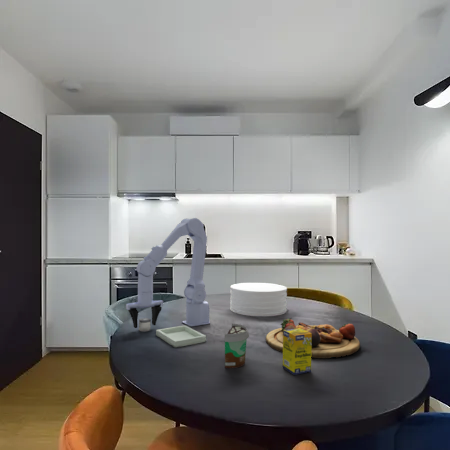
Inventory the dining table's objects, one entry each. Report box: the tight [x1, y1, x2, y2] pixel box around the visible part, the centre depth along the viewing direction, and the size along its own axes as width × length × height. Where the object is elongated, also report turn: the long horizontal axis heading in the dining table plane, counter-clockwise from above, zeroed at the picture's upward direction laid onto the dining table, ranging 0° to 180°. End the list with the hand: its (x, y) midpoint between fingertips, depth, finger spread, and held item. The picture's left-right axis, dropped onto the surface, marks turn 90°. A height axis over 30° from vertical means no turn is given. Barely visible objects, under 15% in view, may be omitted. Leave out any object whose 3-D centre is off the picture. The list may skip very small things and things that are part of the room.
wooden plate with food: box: [265, 317, 361, 359], centre depth 124 cm, size 32×32×8 cm
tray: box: [155, 324, 207, 348], centre depth 126 cm, size 12×16×2 cm
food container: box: [223, 323, 250, 369], centre depth 104 cm, size 12×6×10 cm, turn 168°
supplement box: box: [282, 328, 312, 376], centre depth 99 cm, size 6×6×11 cm
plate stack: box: [229, 282, 288, 317], centre depth 175 cm, size 28×28×12 cm
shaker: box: [138, 317, 152, 332], centre depth 137 cm, size 4×4×4 cm
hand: (144, 326), depth 137 cm, fingers open, 7 cm apart
